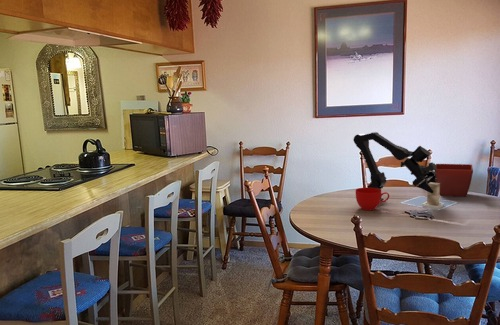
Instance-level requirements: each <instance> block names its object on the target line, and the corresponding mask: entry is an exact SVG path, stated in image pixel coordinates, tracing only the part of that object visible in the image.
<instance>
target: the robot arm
mask: <svg viewBox="0 0 500 325" xmlns="http://www.w3.org/2000/svg"><path fill="white" fill-rule="evenodd" d="M352 140H353V142H354V144H355V145H356V148H358V149H359V150H360V153H361V154H362V157H363V158H364V162H365V163H366V166H367V168H368V171H369V173H370V183H369V184H368V185H367V186H366V188H377V189H380V190H381V191H382V189H383V188H384V186H385V185H386V184H387V177H386V175H385V172H384V171H382V172H381V171H380V170H379V168H378V165H377V163H376V160H375V158H374V157H373V154H372V153H373V152H372V150H371V148H370V141H371V140H372V141H374V142H375V143H377V144H378V145H380V146H381V147H383V149H384V148H385V149H386V150H387V151H389V153H391V155H392V156H393V157H394V158H395V159H396V160H398V161H401V162H400V168H403V167H405V168H406V169H407V170H408V171H410V175H413V176H414V177H415V179H414V180H413V181H412V185H413V186H414V187H416V188H419V189H421V190H423V191H426V192H427V191H428V192H430V193H434V191H433V190H432V189H431V187H430V186H429V184H428V183H430V182H433V183H437V181H436V173H435V171H434V170H436V169H437V168H436V163H434V162H432V161H431V162H429V163H428V164H427V165H426V166H424V165H421V164H420V163H422V162H423V161H425V160H426V159H427V158H428V157H429V156H430V155H431V153H430V151H429V150H428V149H426V148H424V147H422V146H421V145H419V146H418V147H416V149H415V150H413V151H410V150H409V149H408V148H405V147H403V146H401V145H398V144H395V143H393V142H392V141H390V140H389V139H387V138H386V137H384V136H383V135H381V134H379V132H378V131H377V132H376V131H373V132H370V133H366V134H365V133H359V134H355V135H354V137H353V138H352ZM383 200H384V198H382V197H381V200H380V201H383Z"/></svg>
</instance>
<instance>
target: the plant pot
mask: <svg viewBox="0 0 500 325" xmlns="http://www.w3.org/2000/svg"><path fill="white" fill-rule="evenodd" d="M435 165H436V168H437V169H436V170H433V171H435V173H436V181H437V183H440V194H439V196H445V197H447V196H448V197H459V198H460V197H461V198H466V197H467V196H468V193H469V190H470V188H471V187H470V186H471V185H472V179H473V174H474V168H473V164H471V163H469V164H466V163H465V164H463V163H459V164H458V163H435Z"/></svg>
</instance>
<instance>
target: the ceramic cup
mask: <svg viewBox="0 0 500 325" xmlns="http://www.w3.org/2000/svg"><path fill="white" fill-rule="evenodd" d="M383 195H387V197H386V198H385V199H383V200H381V198H382V196H383ZM389 198H390V194H389V193H388V192H386V191H385V192H382V189H381V190H380V189H377V188H368V187H360V188H359V187H358V188H356V189H355V199H356V202H357V205H358V206H359V207H360V208H361V209H362V210H363V211H375V209H376V208H377V207H378V206H379V205H380V204H382V203H384V202H386V201H388V200H389Z"/></svg>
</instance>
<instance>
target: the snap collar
mask: <svg viewBox="0 0 500 325" xmlns="http://www.w3.org/2000/svg"><path fill="white" fill-rule="evenodd" d="M443 206H444V203H441V202H439V205H438V206H435V205H428V204H427V202H425V203H423V204H422V207H426V208H433V209H440V208H441V207H443ZM426 208H425V209H426Z"/></svg>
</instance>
